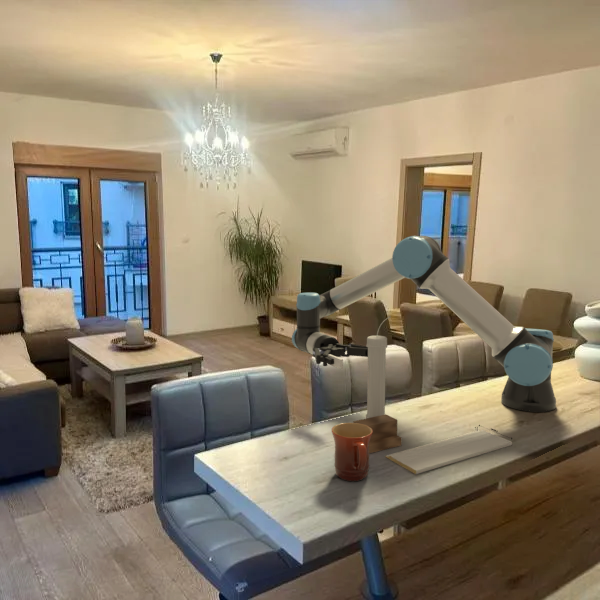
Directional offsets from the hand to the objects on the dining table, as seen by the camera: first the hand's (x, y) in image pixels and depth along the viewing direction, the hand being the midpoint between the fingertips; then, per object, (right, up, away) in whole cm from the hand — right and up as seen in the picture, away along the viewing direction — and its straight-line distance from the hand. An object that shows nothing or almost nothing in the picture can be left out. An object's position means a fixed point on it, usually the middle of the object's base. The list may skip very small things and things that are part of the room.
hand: (362, 361), depth 150 cm
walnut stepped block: (+1, -19, -16) cm, 25 cm away
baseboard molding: (+18, -20, -20) cm, 33 cm away
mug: (-6, -21, -34) cm, 41 cm away
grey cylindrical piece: (+4, -17, -3) cm, 18 cm away
